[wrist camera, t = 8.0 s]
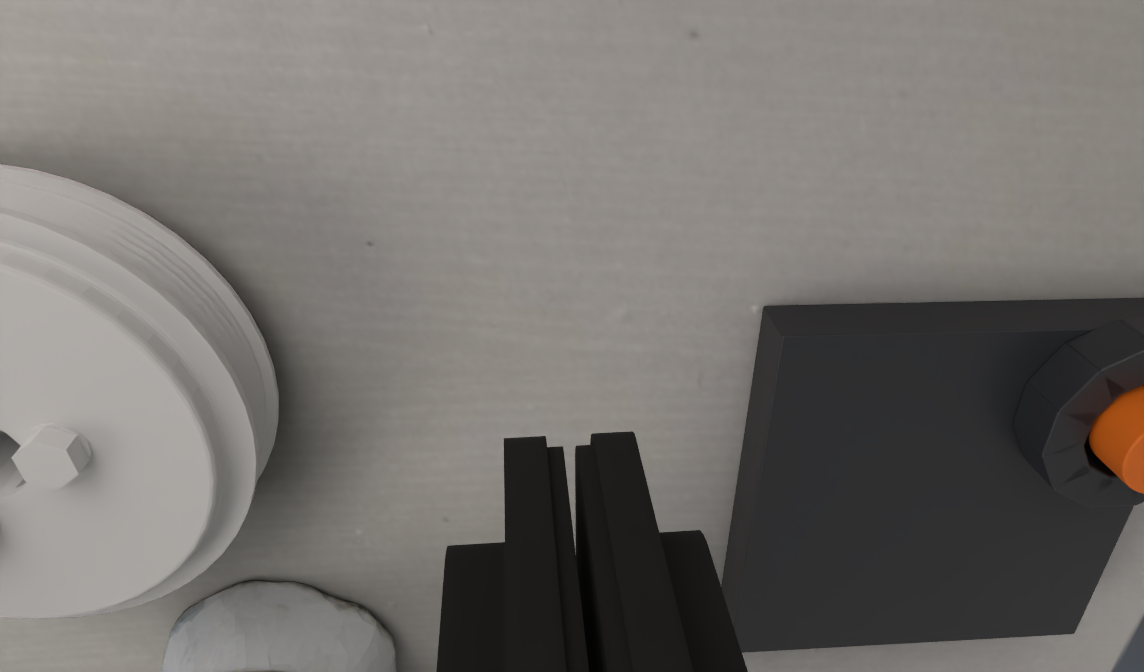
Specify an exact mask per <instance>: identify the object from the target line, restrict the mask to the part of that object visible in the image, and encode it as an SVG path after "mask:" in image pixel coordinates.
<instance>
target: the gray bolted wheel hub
mask: <svg viewBox="0 0 1144 672" xmlns="http://www.w3.org/2000/svg"><path fill="white" fill-rule="evenodd" d="M278 420H279V392H278V387H277V381H276V376H275V370H274V366H273V363H272V360H271V357H270V354H269V351H268V349H267V346H266V343H265V340H264V338H263V336H262V334H261V332H260V330H259V329H258V327H257V325H256V323H255V321H254V319H253V317H252V315H251V313H250V312H249V310H248V309H247V308H246V306H245V305H244V303H243V302H242V301H241V299H240V298H239V296H238V295H237V294H236V292H235V291H234V289H233V288H232V287H231V285H230V284H229V283H228V282H227V281H226V280H225V279H224V278H223V277H222V275H221V274H220V273H219V272H218V271H217V270H216V269H215V268H214V267H213V266H212V265H211V264H210V262H209V261H208V260H207V259H205V258H204V257H203V256H202V255H201V254H200V253H198V252H197V251H196V250H195V249H194V248H193V247H191V246H190V245H189V244H188V243H187V242H186V241H184V240H183V239H182V238H181V237H180V236H179V235H177V234H176V233H174V232H173V231H171V230H170V229H168V228H167V227H165V226H164V225H162V224H161V223H159V222H158V221H156V220H155V219H153V218H152V217H151V216H149V215H148V214H146V213H144V212H142V211H140V210H138V209H136V208H135V207H133V206H131V205H129V204H127V203H125V202H123V201H121V200H119V199H118V198H116V197H114V196H112V195H109V194H107V193H104V192H102V191H99V190H97V189H94V188H92V187H89V186H87V185H84V184H82V183H79V182H77V181H74V180H71V179H67V178H64V177H60V176H56V175H53V174H49V173H45V172H42V171H38V170H34V169H28V168H22V167H15V166H9V165H3V164H0V618H12V619H43V618H74V617H83V616H91V615H100V614H106V613H110V612H115V611H119V610H123V609H128V608H132V607H135V606H138V605H141V604H144V603H146V602H149V601H152V600H155V599H158V598H160V597H162V596H164V595H166V594H168V593H170V592H172V591H174V590H176V589H178V588H180V587H182V586H184V585H185V584H187V583H188V582H190V581H191V580H192V579H194V578H195V577H197V576H198V575H200V574H201V573H203V572H204V571H205V570H206V569H207V568H208V567H209V566H210V565H211V564H212V563H214V562H215V561H216V560H217V559H218V558H219V557H220V556H221V555H222V554H223V553H224V551H225V550H226V549H227V547H228V546H229V545H230V543H231V542H232V540H233V539H234V538H235V536H236V535H237V534H238V532H239V529H240V527H241V525H242V523H243V521H244V519H245V517H246V515H247V513H248V510H249V508H250V505H251V502H252V499H253V496H254V493H255V487H256V482H257V481H258V479H259V477H260V476H261V474H262V472H263V471H264V469H265V467H266V464H267V462H268V459H269V456H270V454H271V451H272V448H273V445H274V443H275V438H276V432H277V426H278Z"/></svg>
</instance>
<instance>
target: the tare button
mask: <svg viewBox="0 0 1144 672" xmlns="http://www.w3.org/2000/svg"><path fill="white" fill-rule="evenodd" d="M1089 443H1090V447H1091V450H1092V451H1093V453H1094V454H1095V455H1096V456H1097V457H1098V458H1099V459H1100V460H1101V461H1102V462H1103V463H1104V464H1105V465H1106V466H1107V467H1108V468H1109V469H1110V470H1111V471H1112V472H1114V473H1115V474H1116V475H1117V476H1118V477H1119V478H1120V479H1121V480H1122V481H1123V482H1124V483H1125V484H1126V485H1127V486H1128V487H1129V488H1131V489H1132V490H1134V491H1137V492H1139V493H1143V494H1144V385H1142V386H1140V387H1138V388H1135V389H1133V390H1131V391H1129V392H1127V393H1124V394H1122V395H1120V396H1119V397H1118V398H1117V399H1116V400H1115V401H1114V402H1113V403H1112V404H1110V405H1109V406H1108V407H1107V408H1106V409H1105V410H1104V411H1103V412H1102V413H1101V414H1100V415H1099V416H1098V417H1097V418H1096V419H1095V420H1094V422H1093V424H1092V427H1091V429H1090V432H1089Z"/></svg>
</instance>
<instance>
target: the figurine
mask: <svg viewBox="0 0 1144 672" xmlns="http://www.w3.org/2000/svg"><path fill="white" fill-rule="evenodd" d="M395 671H396V662H395V647H394V639H393V638H392V637H391V635H390V634H389V633H388V632H387V630H386V629H385V628H384V627H383V626H382V624H381V623H380V622H379V621H378V620H377V619H376V618H375V617H374V616H373V615H372V614H371V613H370V612H368V611H367V610H366V609H364V608H363V607H361V606H359V605H358V604H354V603H351V602H347V601H343V600H340V599H337V598H334V597H331V596H329V595H326V594H323V593H321V592H320V591H318V590H317V589H315V588H313V587H310V586H307V585H304V584H300V583H297V582H281V583H276V582H266V581H256V580H253V581H248V582H242V583H239V584H236V585H234V586H232V587H230V588H227V589H225V590H223V591H221V592H219V593H217V594H215V595H213V596H211V597H209V598H206V599H204V600H203V601H201V602H200V603H197V604H195V605H192V606H190V607H189V608H188V609H186V610H185V611H184V612H183V614H182V615H181V616H180V617H179V618H178V620H177V622H176V623H175V625H174V627H173V629H172V630H171V633H170V636H169V640H168V643H167V646H166V649H165V652H164V659H163V667H162V672H395Z"/></svg>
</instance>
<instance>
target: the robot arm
mask: <svg viewBox="0 0 1144 672" xmlns="http://www.w3.org/2000/svg"><path fill="white" fill-rule="evenodd" d="M504 486H505V542H502V543H486V544H470V545H454V546H447V550H446V557H445V569H444V582H443V595H442V608H441V621H440V634H439V647H438V660H437V672H748V671H747V668H746V665H745V662H744V659H743V655H742V652H741V649H740V646H739V643H738V640H737V636H736V633H735V630H734V627H733V624H732V620H731V617H730V614H729V611H728V608H727V605H726V601H725V598H724V595H723V592H722V589H721V586H720V582H719V579H718V576H717V573H716V570H715V567H714V563H713V560H712V557H711V554H710V551H709V548H708V544H707V542H706V539H705V537H704V535H703V533H702V532H701V531H700V530H696V531H680V532H664V533H659V530H658V526H657V522H656V518H655V514H654V510H653V506H652V502H651V498H650V494H649V490H648V486H647V482H646V478H645V474H644V470H643V466H642V461H641V457H640V453H639V449H638V445H637V441H636V437H635V434H634V432H615V433H596V434H591V443H590V445H582V446H576V449H575V486H576V555H575V546H574V537H573V529H572V520H571V511H570V503H569V494H568V486H567V477H566V468H565V460H564V451H563V447H547V444H546V436H540V437H521V438H504Z"/></svg>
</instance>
